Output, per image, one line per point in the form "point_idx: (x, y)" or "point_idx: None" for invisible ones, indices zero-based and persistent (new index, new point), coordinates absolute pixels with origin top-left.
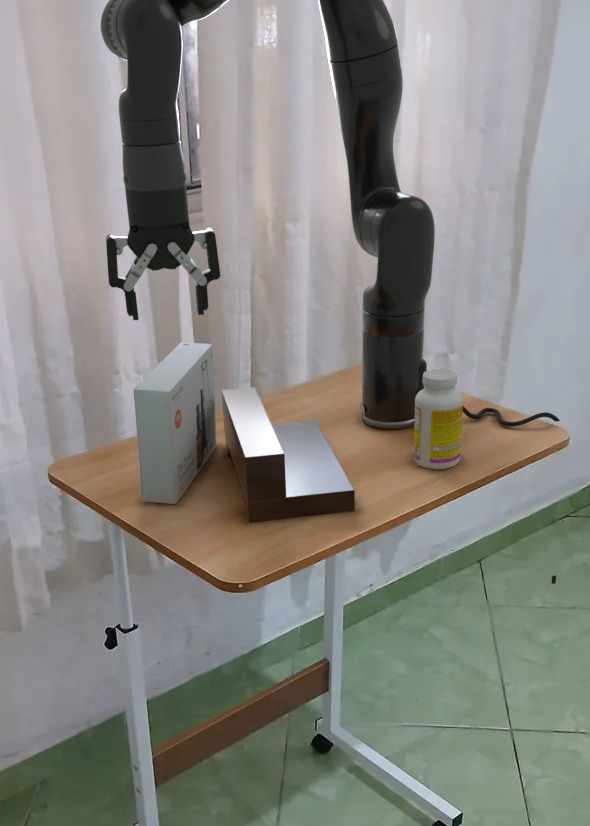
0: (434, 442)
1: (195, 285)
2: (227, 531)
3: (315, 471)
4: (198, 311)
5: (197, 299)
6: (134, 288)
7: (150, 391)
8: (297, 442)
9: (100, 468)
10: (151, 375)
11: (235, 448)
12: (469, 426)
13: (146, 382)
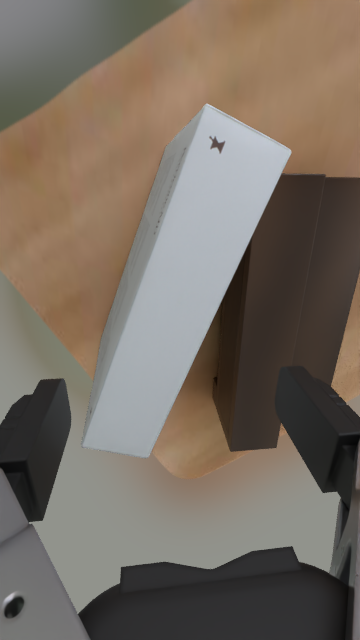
0: None
1: (330, 442)
2: (188, 409)
3: (307, 357)
4: (279, 417)
5: (297, 447)
6: (27, 473)
7: (114, 452)
8: (321, 265)
9: (28, 210)
10: (114, 382)
11: (230, 340)
12: None
13: (105, 419)
